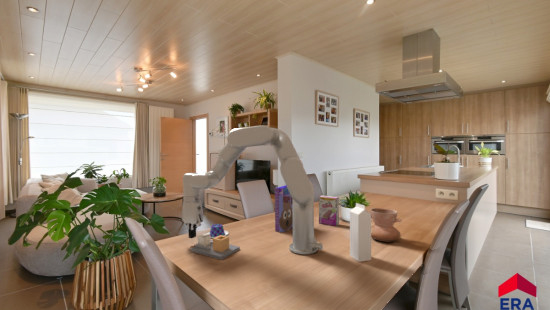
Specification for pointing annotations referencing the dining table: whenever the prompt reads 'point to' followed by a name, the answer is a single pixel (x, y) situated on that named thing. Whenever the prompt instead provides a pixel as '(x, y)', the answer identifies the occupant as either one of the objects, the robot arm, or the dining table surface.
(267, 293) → the dining table surface
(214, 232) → the pudding
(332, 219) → the candy bar box
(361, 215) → the milk
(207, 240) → the cream square block
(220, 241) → the orange hollow cube
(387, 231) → the ceramic jug
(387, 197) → the dining table surface
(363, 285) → the dining table surface
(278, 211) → the cereal box
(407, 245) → the dining table surface
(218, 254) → the base
